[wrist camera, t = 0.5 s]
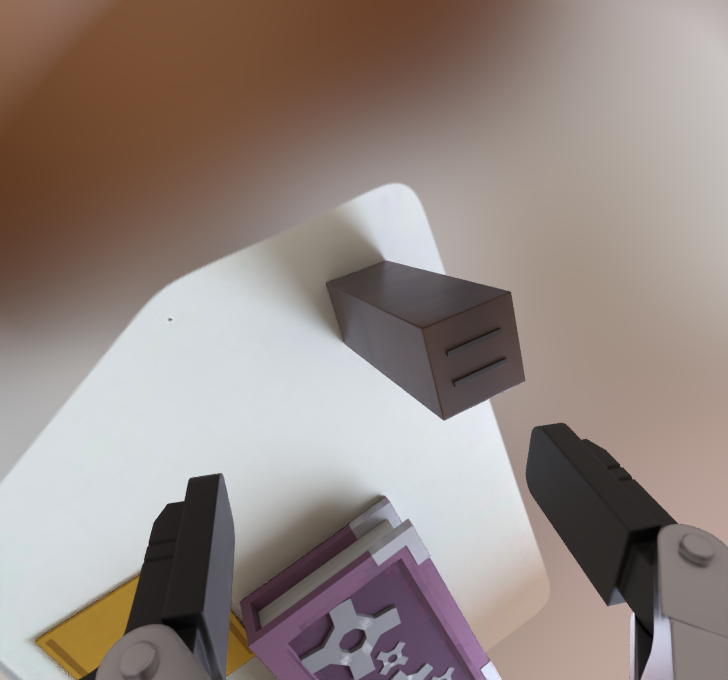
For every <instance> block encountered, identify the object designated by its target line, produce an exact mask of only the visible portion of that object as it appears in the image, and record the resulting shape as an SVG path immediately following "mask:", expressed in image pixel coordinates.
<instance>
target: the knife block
mask: <svg viewBox="0 0 728 680" xmlns="http://www.w3.org/2000/svg"><path fill="white" fill-rule="evenodd" d="M326 285H327V288H328V291H329V295H330V298H331V301H332V304H333V308H334V311H335V314H336V317H337V321H338V324H339V327H340V330H341V334H342V337H343V340H344V343H345V345H346V346H348V347H349V348H350V349H352V350H353V351H354V352H356V353H357V354H358V355H359V356H361V357H362V358H363V359H365V360H366V361H367V362H369V363H370V364H371V365H372V366H374V367H375V368H376V369H378V370H379V371H380V372H381V373H383V374H384V375H385V376H387V377H388V378H389V379H391V380H392V381H393V382H394V383H396V384H397V385H398V386H400V387H401V388H402V389H403V390H405V391H406V392H407V393H409V394H410V395H411V396H413V397H414V398H415V399H416V400H418V401H419V402H420V403H422V404H423V405H424V406H425V407H427V408H428V409H429V410H431V411H432V412H433V413H435V414H436V415H437V416H438V417H440V418H441V419H442V420H447V419H449V418H451V417H453V416H455V415H457V414H459V413H461V412H463V411H465V410H467V409H469V408H472V407H474V406H476V405H478V404H480V403H482V402H484V401H486V400H488V399H490V398H492V397H494V396H496V395H498V394H500V393H503V392H505V391H507V390H509V389H511V388H513V387H515V386H517V385H519V384H521V383H523V382H525V376H524V370H523V364H522V357H521V351H520V344H519V338H518V333H517V326H516V320H515V314H514V308H513V302H512V295H511V292H510V291H506V290H502V289H498V288H494V287H490V286H486V285H482V284H478V283H474V282H470V281H466V280H462V279H458V278H454V277H450V276H446V275H442V274H438V273H434V272H430V271H426V270H422V269H418V268H414V267H410V266H406V265H402V264H398V263H394V262H390V261H384V262H381V263H378V264H376V265H373V266H370V267H367V268H365V269H362V270H359V271H356V272H354V273H351V274H348V275H345V276H343V277H340V278H337V279H335V280H332V281H329V282H327V283H326Z"/></svg>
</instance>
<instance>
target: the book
mask: <svg viewBox="0 0 728 680" xmlns="http://www.w3.org/2000/svg"><path fill="white" fill-rule="evenodd" d="M348 524H349V525H347V526H346V527H345V528H343V529H342V530H340V531H339V532H338V533H336V534H335V535H333V536H332V537H331V538H329V539H328V540H326V541H325V542H324V543H322V544H321V545H319V546H318V547H317V548H315V549H314V550H312V551H311V552H310V553H308V554H307V555H305V556H304V557H303V558H301V559H300V560H298V561H297V562H296V563H294V564H293V565H291V566H290V567H289V568H287V569H286V570H284V571H283V572H282V573H280V574H279V575H277V576H276V577H275V578H273V579H272V580H270V581H269V582H268V583H266V584H265V585H263V586H262V587H261V588H259V589H258V590H256V591H255V592H254V593H252V594H251V595H249V596H248V597H247V598H245V599H244V600H242V601H241V602H240V604H241V610H242V615H243V620H244V626H245V631H246V636H247V642H248V647H249V648H250V649H251V650H252V651H253V652H254V653H255V655H256V656H257V657H258V658H259V659H260V660H261V661H262V662H263V663H264V664H265V665H266V667H267V668H268V669H269V670H270V671H271V672H272V673H273V674H274V675H275V676H276V677H277V678H278V680H502V679H501V678H500V676H499V674H498V673H497V671H496V669H495V667H494V665H493V664H492V662H491V660H490V659H489V658H488V656H487V655H486V653H484V651H483V649H482V647H481V646H480V644H479V642H478V640H477V639H476V637H475V635H474V634H473V632H472V630H471V628H470V627H469V625H468V623H467V621H466V620H465V618H464V616H463V614H462V613H461V611H460V609H459V607H458V606H457V604H456V602H455V600H454V599H453V597H452V595H451V594H450V592H449V590H448V588H447V587H446V585H445V583H444V581H443V580H442V578H441V576H440V574H439V573H438V571H437V569H436V567H435V566H434V564H433V562H432V561H431V559H430V554H429V552H428V550H427V549H426V547H425V545H424V543H423V542H422V540H421V538H420V536H419V535H418V533H417V531H416V529H415V528H414V526H413V524H412V523H411V522H410V521H409V519H407V520H406V521H404V522H403V523H402V521H401V520H400V518H399V516H398V515H397V513H396V511H395V510H394V508H393V506H392V504H391V503H390V501H389V500H388V499H387V497H385V498H383V499H382V500H381V501H379V502H378V503H376V504H375V505H374V506H372V507H371V508H369V509H368V510H367V511H365V512H364V513H362V514H361V515H360V516H358V517H357V518H355V519H354V520H353V521H351V522H350V523H348Z"/></svg>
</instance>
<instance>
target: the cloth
mask: <svg viewBox="0 0 728 680" xmlns="http://www.w3.org/2000/svg"><path fill="white" fill-rule="evenodd" d="M139 577H140V575H139V576H137V577H135V578H134V579H132V580H131V581H129V582H127V583H126V584H124V585H123V586H121V587H119V588H118V589H116V590H115V591H113V592H111V593H110V594H108V595H107V596H105V597H103V598H102V599H100V600H99V601H97V602H95V603H94V604H92V605H91V606H89V607H87V608H86V609H84V610H83V611H81V612H79V613H78V614H76V615H75V616H73V617H71V618H70V619H68V620H67V621H65V622H63V623H62V624H60V625H58V626H57V627H55V628H54V629H52V630H50V631H49V632H47V633H46V634H44V635H42V636H41V637H39V638H38V639H36V642H35V643H37V644H38V645H39V646H40V647H41V648H42V649H43V650H44V651H45V652H46V653H47V654H49V655H50V656H51V657H52V658H53V659H54V660H55V661H56V662H57V663H58V664H60V665H61V666H62V667H63V668H64V669H65V670H66V671H67V672H68V673H69V674H71V675H72V676H73V677H74V678H75V679H76V680H78V679H80V678H82V677H84V676H86V675H87V674H89V673H90V672H92V671H93V670H94V669H96V668H97V667H98V666H99V665H100V663H101V661H102V659H103V657H104V656H105V654H106V653H107V652H108V650H109V649H110V648H111V647H112V646H113V645H114V644H115V643H116V642H117V641H118V640H119V639H120V638H121V637H122V636H123V634H124V632H125V629H126V626H127V622H128V618H129V615H130V611H131V607H132V603H133V600H134V596H135V592H136V588H137V584H138V581H139ZM255 656H256V655H255V653H254V652H253V651H252V650H251V649H250V648H249V647H248V642H247V636H246V631H245V628H244V626H243V625H242V624H241V622H240V621H239V620H238V619H237V617H236V616H235V615H234V614H233V612H232V611H231V610H230V622H229V637H228V652H227V667H226V676H228V675H229V674H230V673H232V672H233V671H235V670H236V669H238V668H239V667H240V666H242V665H243V664H245V663H246V662H248V661H249V660H250V659H252V658H253V657H255Z"/></svg>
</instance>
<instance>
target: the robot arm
mask: <svg viewBox="0 0 728 680" xmlns="http://www.w3.org/2000/svg"><path fill="white" fill-rule="evenodd" d="M526 480H527V484H528V488H529V490H530V493H531V494H532V496H533V498H534V499H535V501H536V502H537V504H538V505H539V506H540V508H541V509H542V511H543V512H544V514H545V515H546V517H547V518H548V520H549V521H550V523H551V524H552V525H553V527H554V528H555V530H556V531H557V533H558V534H559V536H560V537H561V539H562V540H563V542H564V543H565V545H566V546H567V548H568V549H569V551H570V552H571V553H572V555H573V556H574V558H575V559H576V561H577V562H578V564H579V565H580V567H581V568H582V569H583V571H584V573H585V574H586V575H587V577H588V578H589V580H590V581H591V583H592V584H593V586H594V587H595V589H596V590H597V592H598V593H599V594H600V596H601V597H602V599H603V600H604V602H605V603H606V605H607V606H611V605H616V604H620V603H625V602H627V604H628V605H629V607H630V608H631V609H632V611H633V612H632V615H631V620H630V671H629V680H728V547H727V546H726V545H725V544H724V543H723V542H722V541H721V540H719V539H718V538H716V537H715V536H714V535H712V534H710V533H708V532H706V531H704V530H702V529H700V528H696V527H694V526H689V525H684V524H678V523H677V522H676V521H675V520H674V519H673V518H672V517H671V516H670V515H669V514H668V513H667V512H666V511H665V510H664V509H663V508H662V507H661V506H660V505H659V504H658V503H657V502H656V501H655V500H654V499H653V498H652V497H651V496H650V495H649V494H648V493H647V492H646V491H645V490H644V488H643V487H642V486H641V485H639V483H638V482H636V481H635V480H633V479H632V477H631V475H630V474H629V473H628V472H627V471H626V470H625V469H624V468H621V467H620V464H619V463H618V462H617V461H616V460H615V459H614V458H613V457H612V456H611V455H610V454H609V453H608V452H607V451H606V450H605V449H603V448H601V447H599V446H598V445H596V444H594V443H592V442H591V441H589V440H587V439H583V440H581V439H580V438H579V437H578V436H577V435H576V434H575V433H574V432H573V431H572V430H571V429H570V428H569V427H568V426H567V425H566V424H564V423H557V424H550V425H543V426H537V427H534V428H533V430H532V433H531V439H530V446H529V453H528V460H527V466H526ZM234 548H235V534H234V523H233V517H232V513H231V508H230V503H229V499H228V494H227V490H226V485H225V480H224V477H223V474H222V473H219V474H212V475H206V476H199V477H193V478H190V479H189V481H188V486H187V491H186V496H185V501H183V502H176V503H170V504H167V505H166V507H165V508H164V510H163V511H162V512H161V514H160V515H159V516H158V518H157V519H156V520H155V522H154V524H153V527H152V531H151V535H150V539H149V546H148V547H147V550H146V554H145V558H144V563H143V565H142V569H141V573H140V577H139V581H138V584H137V588H136V592H135V596H134V600H133V603H132V607H131V611H130V615H129V618H128V622H127V626H126V629H125V632H124V634H123V636H122V637H121V638H120V639H119V640H118V641H117V642H116V643H115V644H114V645H113V646H112V647H111V648H110V649H109V650H108V652H107V653H106V654H105V656H104V657H103V659H102V661H101V663H100V665H99V666H98V667H97V668H96V669H94V670H93V671H92V672H90V673H89V674H87V675H86V676H84V677H82V678H80V679H78V680H226V667H227V652H228V637H229V622H230V607H231V592H232V578H233V563H234Z"/></svg>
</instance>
